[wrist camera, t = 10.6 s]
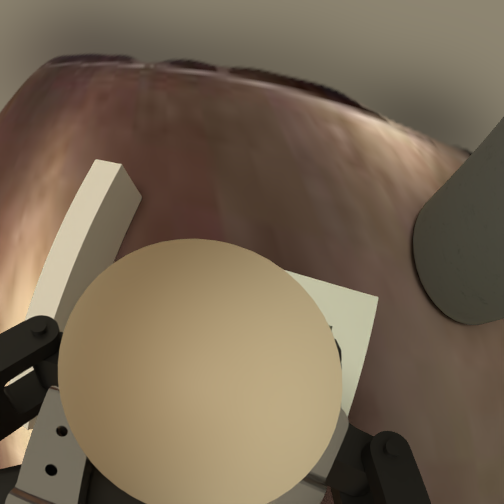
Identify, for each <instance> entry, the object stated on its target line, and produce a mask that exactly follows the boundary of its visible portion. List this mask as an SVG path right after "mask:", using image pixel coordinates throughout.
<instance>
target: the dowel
mask: <svg viewBox="0 0 504 504" xmlns="http://www.w3.org/2000/svg"><path fill="white" fill-rule="evenodd" d="M58 384H59V391H60V398H61V402H62V406H63V410H64V413H65V416H66V419H67V421H68V424H69V426H70V429H71V431H72V433H73V435H74V437H75V439H76V440H77V442H78V444H79V446H80V447H81V449H82V450H83V452H84V453H85V454H86V456H87V457H88V458H89V460H90V461H91V462H92V463H93V465H94V466H95V467H96V468H97V469H98V470H99V471H100V472H101V473H102V474H103V475H104V476H105V477H106V478H107V479H109V480H110V481H111V482H112V483H113V484H115V485H116V486H117V487H118V488H120V489H121V490H123V491H124V492H126V493H127V494H129V495H131V496H132V497H134V498H136V499H138V500H140V501H142V502H144V503H146V504H267V503H269V502H271V501H273V500H275V499H277V498H278V497H280V496H281V495H283V494H284V493H286V492H287V491H289V490H290V489H292V488H293V487H294V486H295V485H296V484H298V483H299V482H300V481H301V480H302V479H303V478H304V477H305V476H306V475H307V474H308V473H309V472H310V471H311V469H312V468H313V467H314V466H315V465H316V463H317V462H318V461H319V459H320V458H321V456H322V454H323V453H324V451H325V450H326V448H327V446H328V444H329V442H330V440H331V437H332V435H333V433H334V430H335V428H336V424H337V421H338V417H339V413H340V408H341V400H342V369H341V363H340V357H339V352H338V349H337V346H336V343H335V340H334V336H333V333H332V331H331V329H330V327H329V325H328V323H327V321H326V319H325V317H324V315H323V313H322V312H321V310H320V309H319V307H318V306H317V304H316V303H315V301H314V300H313V299H312V297H311V296H310V295H309V294H308V293H307V292H306V290H305V289H304V288H303V287H302V286H301V285H300V284H299V283H298V282H297V281H296V280H295V279H294V278H293V277H291V276H290V275H289V274H288V273H287V272H286V271H284V270H283V269H282V268H280V267H279V266H277V265H276V264H274V263H273V262H271V261H270V260H268V259H266V258H264V257H262V256H260V255H258V254H256V253H254V252H252V251H250V250H247V249H244V248H242V247H239V246H236V245H233V244H229V243H224V242H220V241H215V240H204V239H178V240H172V241H166V242H160V243H157V244H153V245H150V246H147V247H143V248H141V249H139V250H137V251H134V252H132V253H130V254H128V255H126V256H124V257H123V258H121V259H119V260H118V261H116V262H115V263H113V264H112V265H110V266H109V267H108V268H107V269H106V270H104V271H103V272H102V273H101V274H99V275H98V276H97V278H96V279H95V280H94V281H93V282H92V283H91V284H90V285H89V286H88V287H87V289H86V290H85V291H84V293H83V294H82V295H81V297H80V298H79V300H78V301H77V303H76V305H75V307H74V308H73V310H72V312H71V314H70V316H69V319H68V321H67V324H66V326H65V329H64V332H63V336H62V340H61V344H60V350H59V358H58Z"/></svg>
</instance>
